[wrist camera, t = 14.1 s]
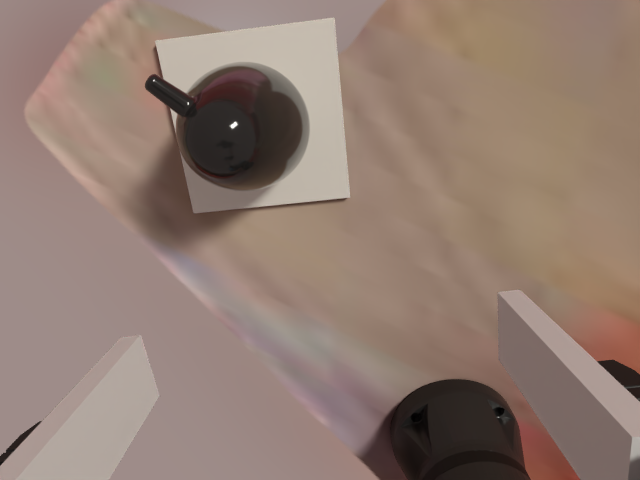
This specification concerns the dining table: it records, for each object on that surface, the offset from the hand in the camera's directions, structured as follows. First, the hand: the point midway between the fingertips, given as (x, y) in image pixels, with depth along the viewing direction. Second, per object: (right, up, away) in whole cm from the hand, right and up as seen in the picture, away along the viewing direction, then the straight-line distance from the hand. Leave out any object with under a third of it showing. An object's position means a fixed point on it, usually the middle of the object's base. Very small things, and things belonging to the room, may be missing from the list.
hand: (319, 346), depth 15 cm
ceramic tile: (-6, +15, +24) cm, 29 cm away
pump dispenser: (-6, +15, +23) cm, 28 cm away
